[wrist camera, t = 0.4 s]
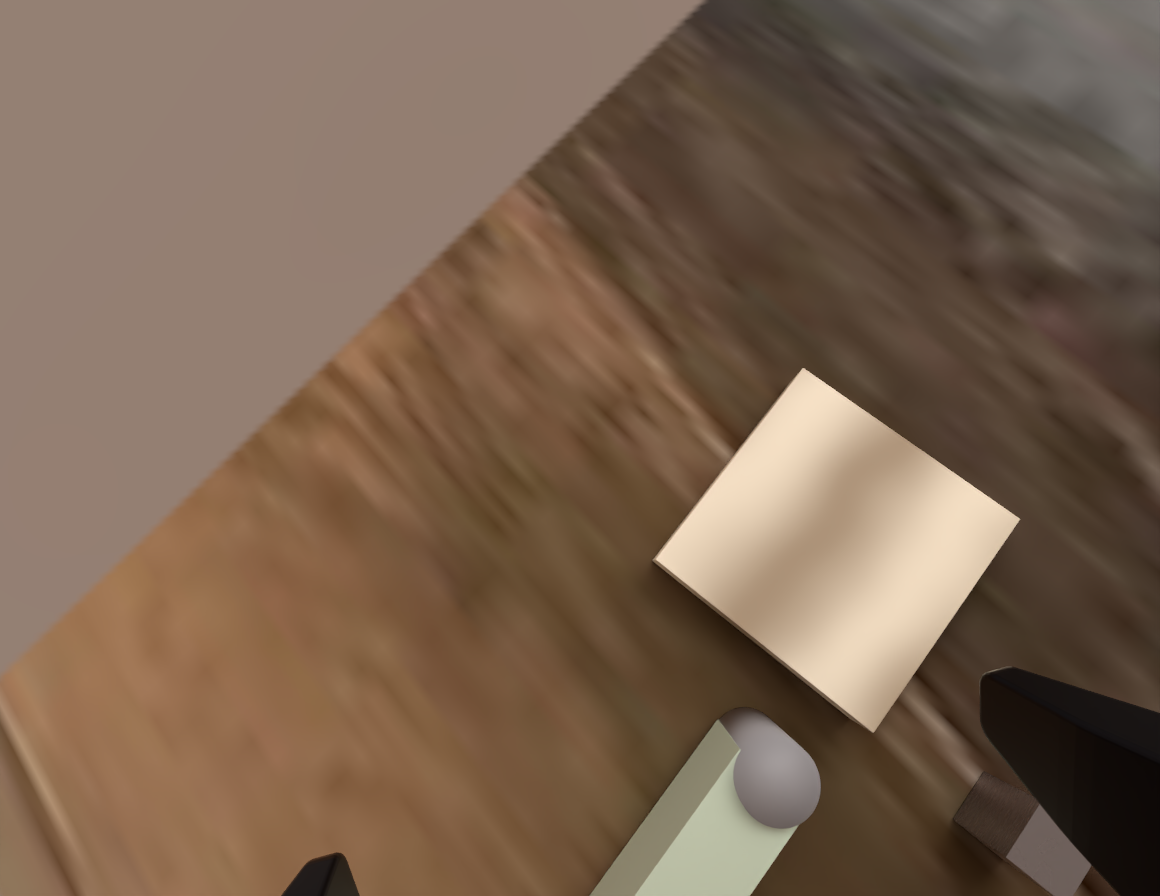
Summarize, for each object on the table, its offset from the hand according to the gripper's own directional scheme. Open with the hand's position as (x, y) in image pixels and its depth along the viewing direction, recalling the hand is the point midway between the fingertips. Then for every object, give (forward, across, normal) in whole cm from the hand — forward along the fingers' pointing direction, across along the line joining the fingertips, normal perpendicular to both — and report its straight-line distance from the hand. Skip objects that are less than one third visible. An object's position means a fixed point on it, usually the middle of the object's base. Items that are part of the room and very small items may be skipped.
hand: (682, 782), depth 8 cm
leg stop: (+9, -12, +14) cm, 20 cm away
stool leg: (+10, 0, +13) cm, 17 cm away
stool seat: (+14, -9, +5) cm, 17 cm away
